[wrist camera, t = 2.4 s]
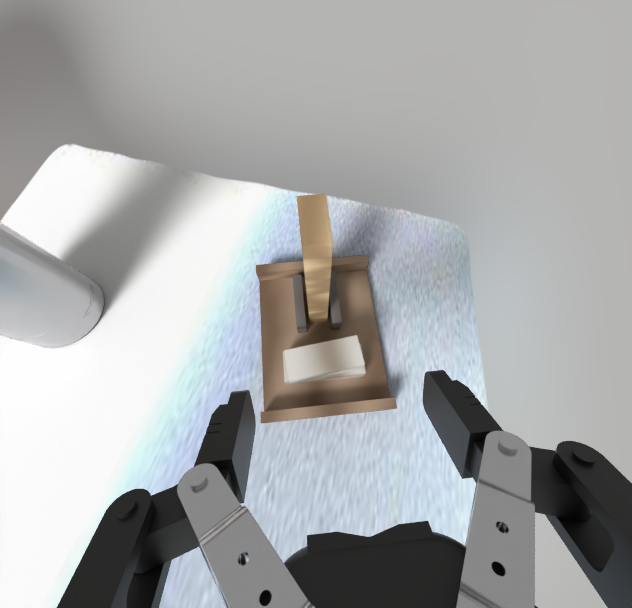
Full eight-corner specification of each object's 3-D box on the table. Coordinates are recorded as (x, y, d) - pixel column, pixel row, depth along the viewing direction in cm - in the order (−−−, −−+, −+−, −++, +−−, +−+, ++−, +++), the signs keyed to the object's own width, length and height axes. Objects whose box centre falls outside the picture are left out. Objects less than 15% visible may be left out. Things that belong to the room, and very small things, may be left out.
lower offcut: (287, 384, 31) (284, 381, 29) (285, 356, 32) (282, 351, 30) (362, 376, 32) (365, 373, 29) (358, 349, 33) (360, 343, 30)
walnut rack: (266, 423, 31) (260, 423, 28) (260, 276, 37) (255, 263, 34) (390, 409, 31) (397, 408, 28) (363, 266, 37) (368, 252, 34)
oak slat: (309, 323, 34) (301, 246, 19) (306, 291, 35) (296, 196, 20) (327, 321, 34) (333, 243, 19) (323, 289, 35) (325, 193, 20)
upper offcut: (291, 383, 29) (289, 380, 27) (286, 355, 30) (283, 350, 28) (361, 368, 29) (364, 364, 27) (354, 341, 30) (356, 335, 28)
